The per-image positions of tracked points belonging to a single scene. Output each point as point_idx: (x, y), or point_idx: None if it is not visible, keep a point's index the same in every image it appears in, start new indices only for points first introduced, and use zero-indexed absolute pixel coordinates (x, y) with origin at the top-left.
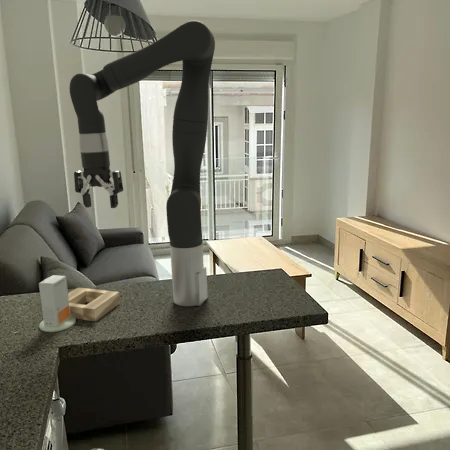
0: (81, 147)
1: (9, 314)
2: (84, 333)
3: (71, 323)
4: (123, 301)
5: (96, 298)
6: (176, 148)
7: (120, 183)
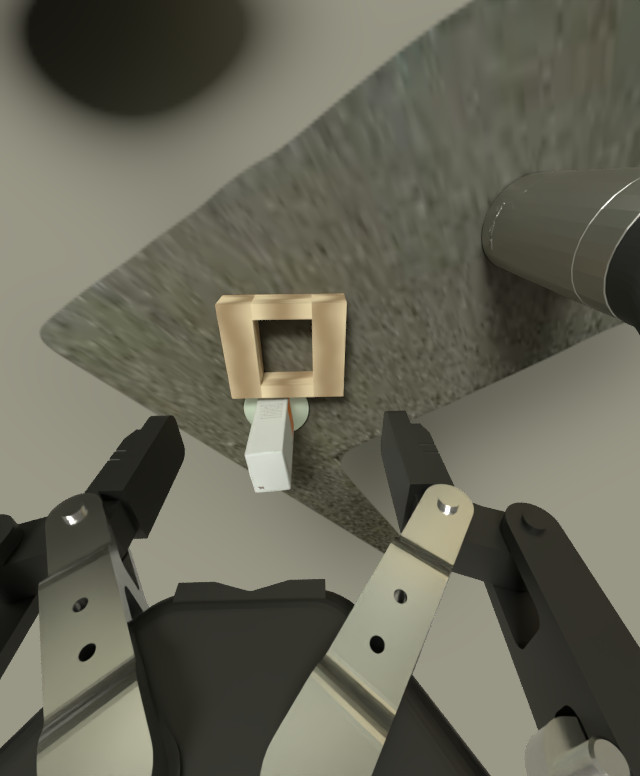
0: None
1: (149, 401)
2: (347, 419)
3: (306, 408)
4: (346, 280)
5: (313, 351)
6: None
7: (585, 618)
